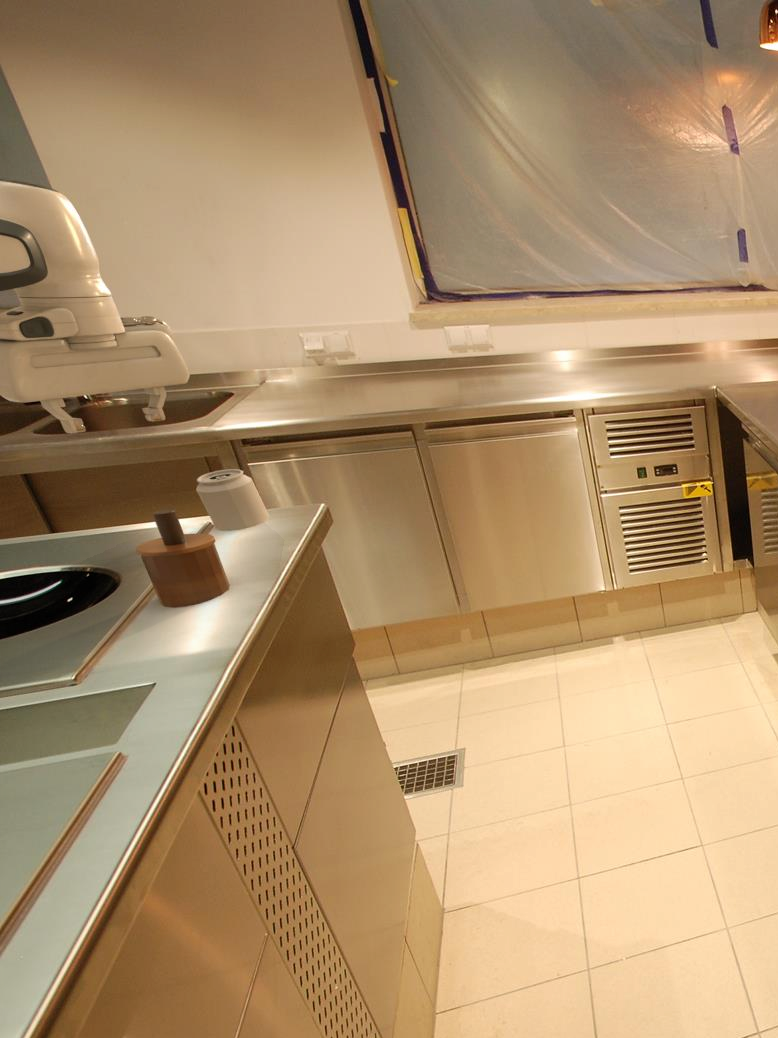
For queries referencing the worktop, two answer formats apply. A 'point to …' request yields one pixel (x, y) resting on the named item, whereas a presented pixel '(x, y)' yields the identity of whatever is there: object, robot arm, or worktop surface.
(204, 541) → the basket lid
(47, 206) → the robot arm
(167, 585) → the wooden cylinder
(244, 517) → the can
